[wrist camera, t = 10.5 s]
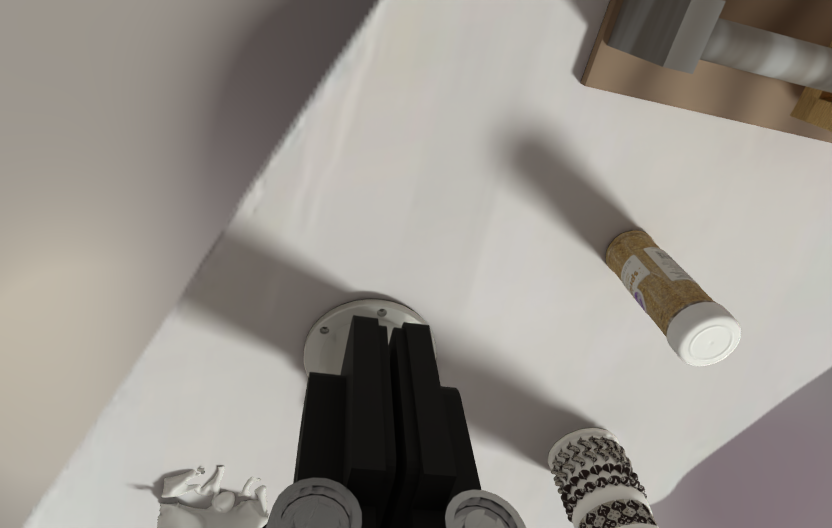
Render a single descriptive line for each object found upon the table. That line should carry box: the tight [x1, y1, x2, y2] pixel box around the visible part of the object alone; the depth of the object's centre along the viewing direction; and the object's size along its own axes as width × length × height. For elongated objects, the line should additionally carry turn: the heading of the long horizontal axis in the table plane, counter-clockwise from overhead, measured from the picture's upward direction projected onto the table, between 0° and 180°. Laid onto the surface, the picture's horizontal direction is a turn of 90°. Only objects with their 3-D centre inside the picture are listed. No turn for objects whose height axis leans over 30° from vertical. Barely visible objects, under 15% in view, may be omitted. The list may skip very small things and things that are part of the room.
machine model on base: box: [581, 0, 832, 143], centre depth 37 cm, size 26×10×9 cm, turn 77°
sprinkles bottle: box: [606, 231, 741, 366], centre depth 43 cm, size 5×5×14 cm
